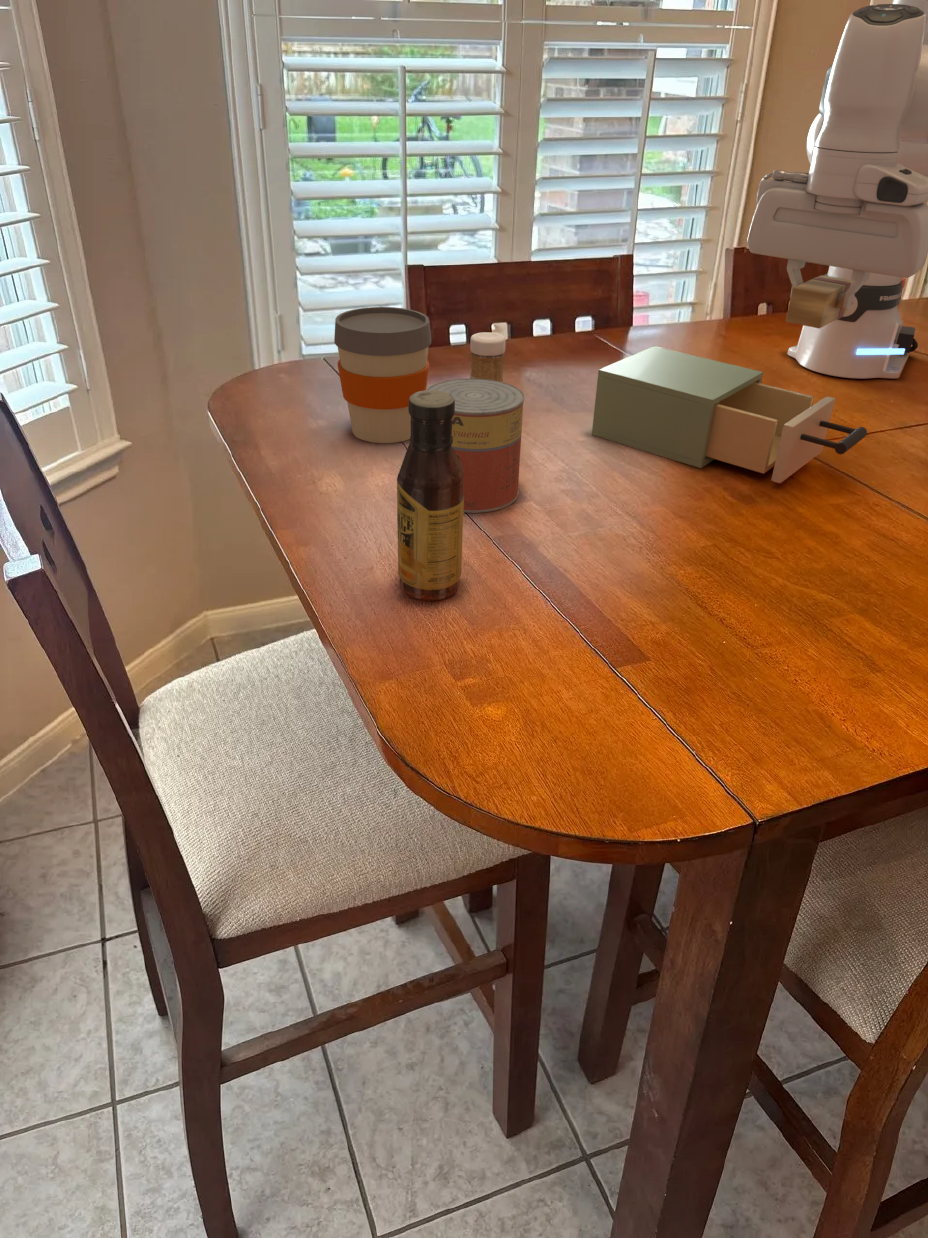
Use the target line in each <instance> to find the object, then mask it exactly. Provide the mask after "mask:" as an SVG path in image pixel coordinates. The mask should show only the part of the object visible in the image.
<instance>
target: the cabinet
mask: <svg viewBox="0 0 928 1238" xmlns="http://www.w3.org/2000/svg"><path fill="white" fill-rule="evenodd" d="M597 371H598V372H597V381H596V390H595V391H596V392H595V399H594V402H595V403H594V408H593V409H594V410H593V419H592V427H591V428H592V430H591V435H592V436H594V437H598V438H601V439H605V440H607V441H611V442H614V443H618V444H620V445H624V446H627V447H630V448H633V449H637V450H640V451H643V452H647V453H650V454H652V455H653V454H654V455H657V456H660V457H662V458H666V459H669V460H673V461H675V462H678V463H681V464H685V465H689V466H692V467H695V468H698V469H702V468H703V467H705V466H707V465H708V464H710V463H711V462H713V461H715V459H713V458H710V457H707V456H706V450H707V444H708V439H709V433H710V428H711V422H712V417H713V411H714V406H715V404H716V403H718V402H720V401H722V400H723V399H725V398H727V397H729V396H731V395H732V394H734V393H736V392H738V391H740V390H741V389H743V388H745V387H747V386H748V385H750V384H752V383H754V382H757V383H761V384H762V381H763V376H764V371H761V370H757V369H752V368H749V367H744V366H740V365H735V364H732V363H728V362H723V361H719V360H715V359H711V358H706V357H703V356H698V355H693V354H689V353H685V352H681V351H677V350H673V349H670V348H669V349H668V348H664V347H660V346H656V345H653V346H650V347H648V348H646V349H644V350H641V351H639V352H636V353H634V354H632V355H629V356H627V357H625V358H623V359H620V360H618V361H616V362H613V363H611V364H609V365H607V366H604V367H602V368H599V369H598V370H597Z"/></svg>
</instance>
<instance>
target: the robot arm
mask: <svg viewBox="0 0 928 1238" xmlns="http://www.w3.org/2000/svg"><path fill="white" fill-rule="evenodd" d="M825 74H826V75H825V78H824V83H823V87H822V93H821V98H820V102H819V108H818V112H819V113H818V114H817V115H816V116H815V118H814V119H813V122H812V123H811V125H810V128H809V129H808V132H807V133H808V134H807V138H806V155H807V156H806V157H807V159H808V162H809V164H810V167H809V172H803V171H786V170H783V169H776V170H773V172H770V173H768V174H766V175H765V176H763V178H762V179H761V180H760V182H759V184H758V187H757V194H756V204H757V205H756V208H755V210H754V214H753V216H752V220H751V222H750V223H751V224H750V227H749V231H748V235H747V239H746V245H747V247H748V250H749V252H750V253H751V254H755V255H761V256H768V257H774V258H780V259H785V260H787V264H786V272H787V274H788V278H789V281H790V284H791V290H790V295H789V299H790V298H791V293H792V289H793V287H795V286H798V285H800V284H802V283H804V279H803V276H802V273H801V272H802V271H801V269H803V268H805V265H806V263H810V264H816V265H821V266H829V267H828V271H827V272H826V273H825V274H824V276H829V277H835V278H841V279H847V280H853V281H855V282H854V283H853V284H852V285H851V287H850V288H849V289H848V290H847V291H841V292H839V293H838V295H837V301H836V304H835V308H840V309H845V310H848V311H847V314H846V315H844V316H843V317H842V318H840V319H836V320H835V321H833V322H831V323H829V324H827V325H825V326H823V327H821V328H814V327H809V326H804V325H802V328H801V332H800V335H799V338H798V342H797V345H794V346H791V347H789V348H788V350H787V352H786V354H787V355H788V356H789V357H792V358H793V359H795V360H796V361H797V363H798V364H799V365H800V366H802V367H804V368H806V369H808V370H810V371H812V372H816V373H819V374H822V375H823V374H824V375H827V376H833V377H838V378H847V379H879V378H880V379H899V378H901V374H902V372H903V370H904V368H905V366H906V364H907V362H908V359H909V356H910V353H912V352H914V351H916V350H917V349H918V347H919V344H918V341H917V340H916V339H915V334H916V327H913V326H907V325H906V326H905V325H904V321H903V319H902V315H901V313H900V310H899V308H898V305H900V302H901V297H902V294H903V290H904V288H905V285H906V279H908V278H912V277H913V276H914V275H916V274H918V273H920V271H921V270H923V268H924V267H925V264H926V260H927V257H928V204H927V203H926V202H928V0H892V2H891V3H878V4H875V5H874V4H871V5H870V4H869V5H866V6H861V7H860V8H859V9H857V10H855V11H853V12H852V13H850V15H849V17H848V19H847V22H846V23H845V27H844V30H843V32H842V35H841V38H840V40H839V43H838V47H837V50H836V53H835V56H834V60H833V63H832V64H830V66H829V67H828V68H827V71H826V73H825Z"/></svg>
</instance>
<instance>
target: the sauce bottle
mask: <svg viewBox="0 0 928 1238" xmlns="http://www.w3.org/2000/svg"><path fill="white" fill-rule="evenodd" d="M408 409H409V414H410V416H411V436H410V439H409V443H408V446H407V449H406V452H405V454H404V457H403V460H402V462H401V463H402V464H401V466H400V468H399V471H398V474H397V477H396V498H397V499H396V505H397V506H396V516H397V517H396V519H397V520H396V521H397V523H396V524H397V527H396V528H397V531H396V533H397V574H398V577H399V585H400V588H401V590H402V591H403V592H404V593H405V594H407V596H408V597H411V598H412V599H415V600H422V601H430V602H431V601H440V600H444V599H448V598H450V597H452V596H454V595H455V594H456V592H457V591H458V588H459V586H460V581H461V576H462V564H463V563H462V562H463V561H462V559H463V533H464V512H463V508H464V495H463V478H464V472H463V465H462V462H461V460H460V458H459V456H458V455H457V454H456V453H455V451H454V449H453V447H452V444H453V437H452V418H453V416H454V413H455V400H454V398H453V396H452V395H451V394H449V393H447V392H443V391H438V390H427V389H426V390H424V391H419V392H416V393H414V394H413V395H411V396H410V398H409V408H408Z"/></svg>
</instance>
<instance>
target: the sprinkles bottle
mask: <svg viewBox="0 0 928 1238" xmlns="http://www.w3.org/2000/svg"><path fill="white" fill-rule="evenodd" d="M469 341H470V343H469V350H470V355H471V356H470V374H469V378H475V379H488V380H495V381H500V382H504V379H503V377H504V372H503V371H504V356H505V353H506V347H507V345H506V344H507V340H506V337H505V336H504V335H503V334H501V333H498V332H490V331H489V332H488V331H487V332H486V331H485V332H484V331H483V332H477V333H474V334H472V335H471V336H470V340H469Z"/></svg>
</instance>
